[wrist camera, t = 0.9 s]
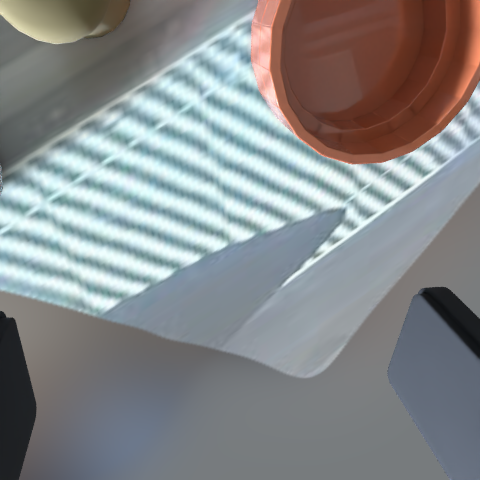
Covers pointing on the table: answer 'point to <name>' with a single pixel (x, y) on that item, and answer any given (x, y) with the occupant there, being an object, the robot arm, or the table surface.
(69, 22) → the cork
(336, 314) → the table surface
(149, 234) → the table surface
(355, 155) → the basin
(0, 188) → the donut
